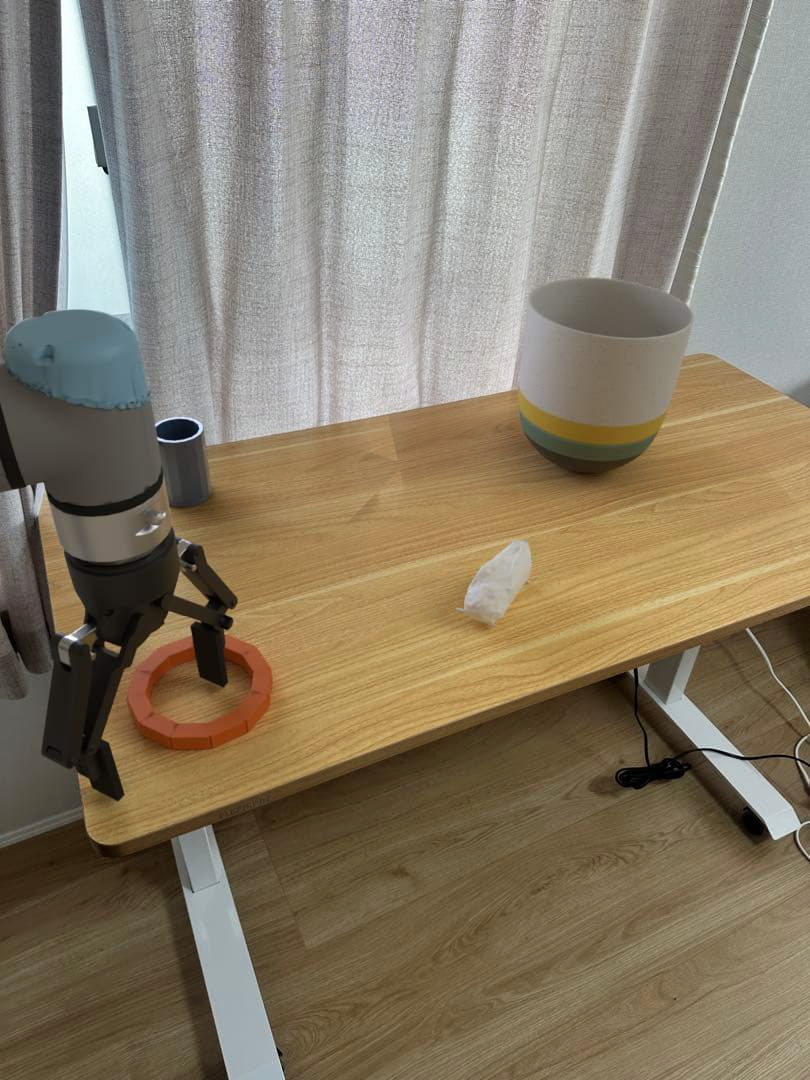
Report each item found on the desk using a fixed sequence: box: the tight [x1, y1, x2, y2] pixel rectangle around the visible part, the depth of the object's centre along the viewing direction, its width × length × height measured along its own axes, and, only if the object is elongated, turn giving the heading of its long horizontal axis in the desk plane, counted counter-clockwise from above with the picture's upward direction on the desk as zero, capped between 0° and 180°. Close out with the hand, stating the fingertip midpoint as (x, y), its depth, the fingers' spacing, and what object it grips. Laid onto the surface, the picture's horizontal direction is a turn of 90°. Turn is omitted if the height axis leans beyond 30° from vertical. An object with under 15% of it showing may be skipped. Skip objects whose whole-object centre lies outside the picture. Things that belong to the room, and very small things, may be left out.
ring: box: [126, 633, 273, 751], centre depth 73 cm, size 12×12×2 cm
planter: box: [517, 277, 695, 474], centre depth 103 cm, size 20×20×21 cm
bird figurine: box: [455, 538, 533, 628], centre depth 84 cm, size 5×7×10 cm
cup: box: [155, 416, 212, 509], centre depth 96 cm, size 6×6×9 cm
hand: (164, 732), depth 69 cm, fingers open, 13 cm apart
